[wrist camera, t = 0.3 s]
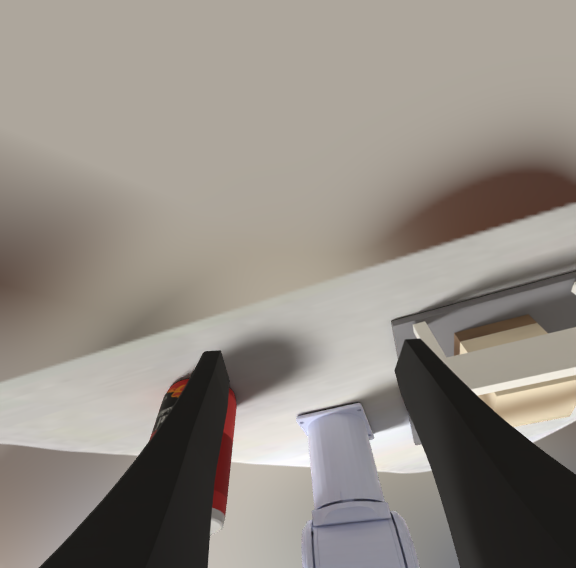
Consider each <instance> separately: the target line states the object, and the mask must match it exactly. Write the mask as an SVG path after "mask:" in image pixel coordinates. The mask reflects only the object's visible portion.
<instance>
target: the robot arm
mask: <svg viewBox="0 0 576 568" xmlns="http://www.w3.org/2000/svg"><path fill="white" fill-rule="evenodd" d="M395 374H396V378H397V381H398V385H399V388H400V392H401V395H402V398H403V400H404V403H405V405H406V408H407V410H408V412H409V415H410V417H411V420H412V422H413V424H414V427H415V429H416V432H417V434H418V436H419V439H420V441H421V443H422V446H423V448H424V451H425V453H426V456H427V458H428V461H429V464H430V466H431V469H432V472H433V475H434V478H435V481H436V485H437V488H438V491H439V494H440V497H441V501H442V504H443V507H444V511H445V514H446V517H447V521H448V524H449V528H450V531H451V535H452V539H453V542H454V546H455V550H456V553H457V557H458V561H459V565H460V568H576V474H574V473H573V472H571V471H570V470H569V469H567V468H566V467H565V466H563V465H561V464H560V463H559V462H558V461H556V460H555V459H553V458H552V457H551V456H549V455H548V454H546V453H545V452H544V451H543V450H541V449H540V448H539V447H537V446H536V445H535V444H533V443H532V442H531V441H530V440H528V439H527V438H526V437H525V436H523V435H522V434H521V433H520V432H518V431H517V430H516V429H515V428H514V427H512V426H511V425H510V424H509V423H508V422H506V421H505V420H504V419H503V418H502V417H501V416H499V415H498V414H497V413H496V412H495V411H494V410H493V409H492V408H490V407H489V406H488V405H487V404H486V403H485V402H484V401H483V400H482V399H480V398H479V397H478V396H477V395H476V394H475V393H474V392H473V391H472V390H471V389H470V388H469V387H468V386H467V385H466V384H465V383H464V382H463V381H462V380H461V379H460V378H459V377H458V376H457V375H456V374H455V373H454V372H453V371H452V370H451V369H450V368H449V367H448V366H447V365H446V364H445V363H444V362H443V361H442V360H441V359H440V358H439V357H438V356H437V355H436V354H435V353H434V352H433V351H432V350H431V349H430V348H429V347H428V346H427V345H426V344H425V343H424V341H423V340H421V339H420V338H419V339H405V340H404V343H403V346H402V350H401V353H400V356H399V359H398V362H397V365H396V368H395ZM229 382H230V380H229V377H228V374H227V370H226V367H225V364H224V360H223V357H222V353H221V351H205V352H204V353H203V354H202V356H201V358H200V360H199V362H198V364H197V366H196V368H195V370H194V371H193V373H192V375H191V377H190V379H189V380H188V382H187V384H186V386H185V387H184V389H183V391H182V392H181V394H180V396H179V397H178V399H177V400H176V402H175V404H174V405H173V407H172V409H171V410H170V412H169V413H168V415H167V416H166V418H165V419H164V421H163V422H162V424H161V425H160V427H159V428H158V430H157V431H156V433H155V434H154V435H153V437H152V438H151V440H150V441H149V442H148V444H147V445H146V446H145V448H144V449H143V450H142V452H141V453H140V454H139V456H138V457H137V458H136V460H135V461H134V462H133V464H132V465H131V466H130V467H129V469H128V470H127V471H126V472H125V474H124V475H123V476H122V477H121V478H120V480H119V481H118V482H117V483H116V485H115V486H114V487H113V488H112V489H111V490H110V492H109V493H108V494H107V495H106V497H105V498H104V499H103V500H102V501H101V502H100V503H99V505H97V507H96V508H95V509H94V510H93V511H92V512H91V513H90V514H89V516H88V517H87V518H86V519H85V520H84V521H83V522H82V523H81V524H80V525H79V526H78V528H77V529H76V530H75V531H74V532H73V533H72V534H71V535H70V536H69V537H68V538H67V539H66V541H65V542H64V543H63V544H62V545H61V546H60V547H59V548H58V549H57V550H56V551H55V552H54V553H53V554H52V555H51V556H50V557H49V558H48V559H47V560H46V561H45V562H44V563H43V564H42V565H41V566H40V567H39V568H208V553H209V540H210V528H211V516H212V505H213V495H214V484H215V476H216V470H217V464H218V458H219V453H220V447H221V442H222V436H223V431H224V425H225V420H226V414H227V408H228V397H229ZM296 421H297V423H298V424H299V425H300V427H301V428H302V430H303V431H304V432H305V434H306V435H307V436H308V444H309V454H310V465H311V475H312V486H313V497H314V507H315V510H312V518H313V520H308V521H307V522H306V525H305V527H304V529H303V531H302V565H303V568H420V565H419V562H418V558H417V554H416V551H415V547H414V544H413V541H412V538H411V535H410V532H409V529H408V527H407V524H406V522H405V520H404V518H403V517H401V516H400V515H399V514H398V512H396V511H391V512H390V509H389V505H388V503H387V502H385V501H384V496H383V492H382V489H381V485H380V481H379V477H378V473H377V469H376V465H375V461H374V457H373V453H372V449H371V445H370V442H369V440H372V439H374V435H373V432H372V430H371V427H370V425H369V422H368V420H367V417H366V414H365V412H364V409H363V407H362V404H360V403H355V404H351V405H346V406H342V407H337V408H333V409H328V410H324V411H319V412H315V413H310V414H306V415H301V416H298V417H297V418H296Z"/></svg>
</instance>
